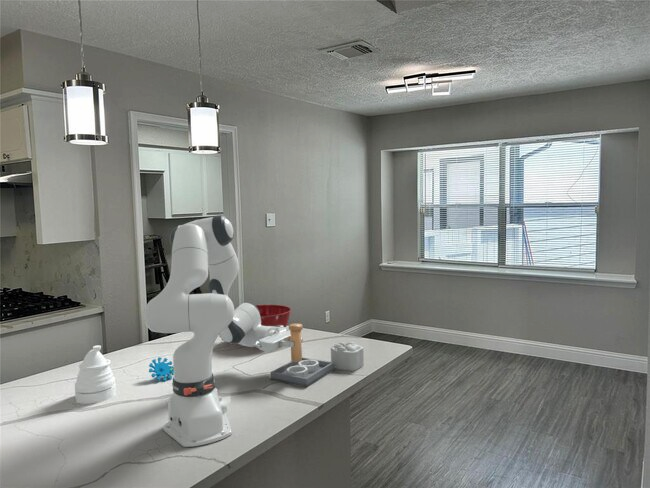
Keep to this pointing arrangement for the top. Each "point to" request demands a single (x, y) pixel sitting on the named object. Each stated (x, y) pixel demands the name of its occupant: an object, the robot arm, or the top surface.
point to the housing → (302, 372)
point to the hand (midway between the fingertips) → (298, 342)
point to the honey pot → (94, 379)
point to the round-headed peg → (296, 342)
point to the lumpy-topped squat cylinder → (347, 356)
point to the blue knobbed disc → (161, 369)
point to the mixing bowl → (274, 315)
